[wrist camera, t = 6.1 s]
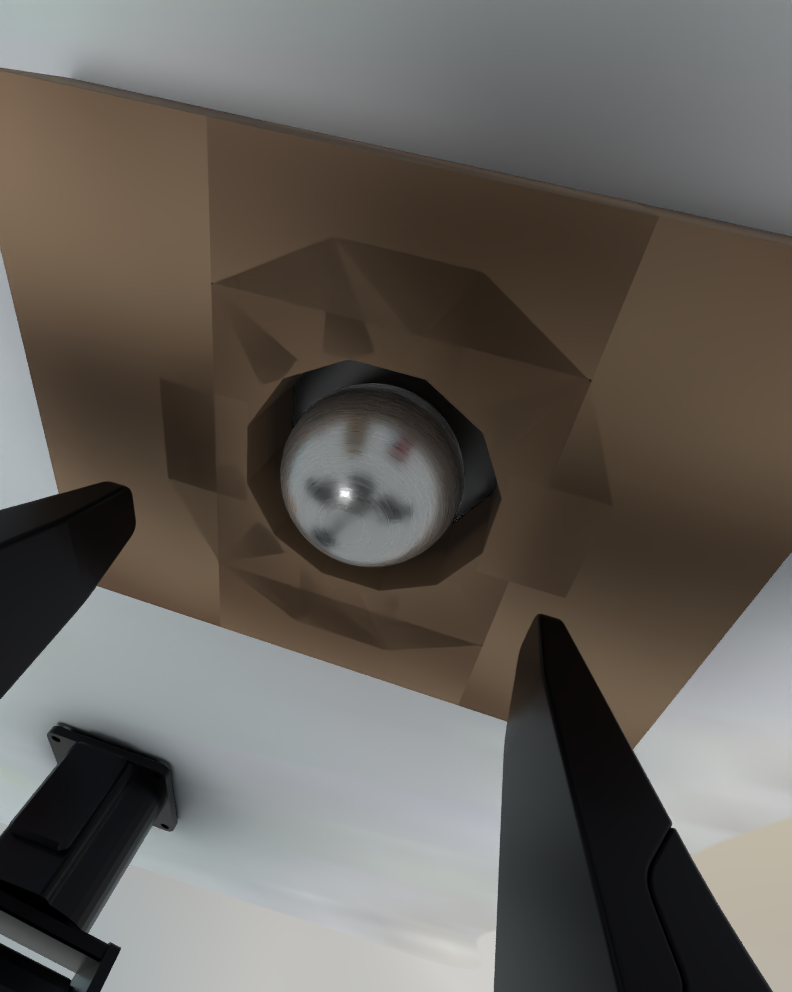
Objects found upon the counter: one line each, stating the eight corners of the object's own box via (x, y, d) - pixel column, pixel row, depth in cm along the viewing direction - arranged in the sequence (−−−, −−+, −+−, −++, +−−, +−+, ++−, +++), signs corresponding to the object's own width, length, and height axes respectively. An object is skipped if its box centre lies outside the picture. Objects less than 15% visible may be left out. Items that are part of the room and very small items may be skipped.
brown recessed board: (615, 682, 16) (624, 760, 14) (134, 530, 18) (79, 580, 16) (900, 261, 9) (999, 292, 7) (68, 77, 11) (-44, 61, 9)
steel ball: (452, 520, 14) (423, 629, 11) (313, 480, 15) (245, 573, 11) (494, 383, 12) (473, 469, 9) (327, 339, 12) (247, 405, 9)
